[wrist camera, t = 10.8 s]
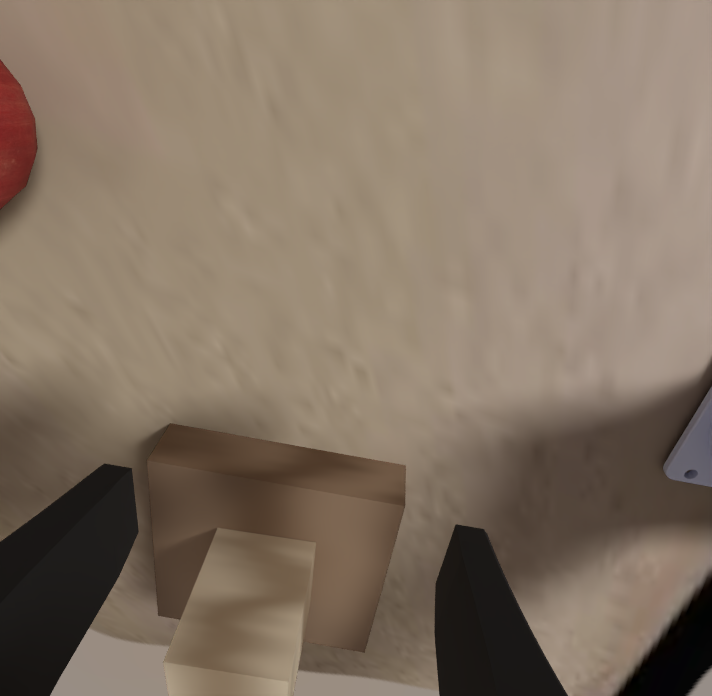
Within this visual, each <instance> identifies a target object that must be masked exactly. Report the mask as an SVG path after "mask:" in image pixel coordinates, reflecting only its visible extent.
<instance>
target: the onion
mask: <svg viewBox="0 0 712 696" xmlns="http://www.w3.org/2000/svg"><path fill="white" fill-rule="evenodd" d="M36 152H37V138H36V126H35V118H34V116H33V113H32V111H31V108H30V106H29V104H28V101H27V99H26V97H25V94H24V92H23V90H22V87H21V85H20V84H19V83H18V81H17V80H16V79H15V78H14V76H13V75H12V74H11V73H10V71H9V70H8V69H7V67H6V66H5V65H4V64H3V62H2V61H1V60H0V209H1V208H2V207H3V206H4V205H5V204H7V203H8V202H9V201H10V200H11V199H12V198H13V197H14V196H15V195H16V194H17V193H19V192H20V191H21V190H22V189H23V188H24V187H25V186H26V184H27V181H28V178H29V175H30V172H31V169H32V166H33V163H34V160H35V156H36Z"/></svg>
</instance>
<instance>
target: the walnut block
mask: <svg viewBox="0 0 712 696" xmlns="http://www.w3.org/2000/svg"><path fill="white" fill-rule="evenodd" d="M147 470H148V483H149V497H150V510H151V524H152V537H153V551H154V565H155V578H156V592H157V605H158V616H163V617H169V618H174V619H181V617H182V615H183V612H184V610H185V607H186V605H187V602H188V600H189V597H190V595H191V592H192V590H193V587H194V585H195V582H196V580H197V578H198V575H199V573H200V570H201V568H202V565H203V563H204V560H205V558H206V555H207V553H208V550H209V548H210V545H211V543H212V541H213V538H214V536H215V533H216V531H217V528H222V529H229V530H236V531H242V532H249V533H256V534H262V535H269V536H276V537H282V538H289V539H296V540H303V541H309V542H316V548H315V559H314V570H313V580H312V591H311V602H310V608H309V613H308V619H307V624H306V630H305V635H304V640H303V642H308V643H314V644H320V645H325V646H331V647H336V648H342V649H348V650H353V651H359V652H364V653H365V649H366V645H367V642H368V638H369V635H370V631H371V627H372V624H373V620H374V617H375V613H376V609H377V606H378V602H379V598H380V595H381V591H382V588H383V584H384V580H385V577H386V573H387V570H388V566H389V562H390V559H391V555H392V552H393V548H394V544H395V541H396V537H397V533H398V530H399V526H400V523H401V519H402V515H403V512H404V508H405V480H406V466H405V465H400V464H394V463H389V462H383V461H377V460H372V459H366V458H361V457H355V456H350V455H344V454H338V453H333V452H327V451H322V450H316V449H311V448H305V447H299V446H294V445H288V444H283V443H277V442H271V441H266V440H260V439H255V438H249V437H244V436H238V435H232V434H227V433H221V432H216V431H210V430H205V429H199V428H193V427H188V426H182V425H177V424H171V423H170V425H169V426H168V428H167V429H166V431H165V433H164V434H163V436H162V437H161V439H160V440H159V442H158V444H157V445H156V447H155V448H154V450H153V452H152V453H151V455H150V456H149V458H148V459H147Z"/></svg>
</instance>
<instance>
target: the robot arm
mask: <svg viewBox="0 0 712 696" xmlns="http://www.w3.org/2000/svg"><path fill="white" fill-rule="evenodd" d="M663 470H664V472H665V474H666V476H667V477H668V478H669V479H672V480H676V481H682V482H687V483H692V484H698V485H703V486H709V487H712V387H711V388H710V390H709V391H708V393H707V395H706V396H705V398H704V400H703V401H702V403H701V405H700V406H699V408H698V409H697V411H696V413H695V414H694V416H693V418H692V419H691V421H690V423H689V424H688V426H687V428H686V429H685V431H684V432H683V434H682V436H681V437H680V439H679V441H678V442H677V444H676V446H675V447H674V449H673V450H672V452H671V454H670V455H669V457H668V459H667V460H666V462H665V464H664V466H663ZM688 470H691V471H690V472H687V471H688ZM138 532H139V531H138V522H137V513H136V504H135V495H134V486H133V477H132V468H127V467H121V466H115V465H109V464H103V465H102V466H100V467H99V468H98V469H96V470H95V471H94V472H92V473H91V474H90V475H89V476H87V477H86V478H85V479H83V480H82V481H81V482H80V483H78V484H77V485H76V486H74V487H73V488H72V489H70V490H69V491H68V492H67V493H65V494H64V495H63V496H61V497H60V498H59V499H58V500H56V501H55V502H54V503H52V504H51V505H50V506H48V507H47V508H46V509H44V510H43V511H42V512H40V513H39V514H38V515H36V516H35V517H34V518H32V519H31V520H30V521H28V522H27V523H25V524H24V525H23V526H21V527H20V528H19V529H17V530H16V531H15V532H13V533H12V534H11V535H9V536H8V537H6V538H5V539H4V540H2V541H1V542H0V696H50V694H51V693H52V690H53V689H54V687H55V685H56V683H57V681H58V680H59V678H60V676H61V674H62V673H63V671H64V669H65V668H66V666H67V664H68V663H69V661H70V659H71V657H72V656H73V654H74V652H75V651H76V649H77V647H78V645H79V644H80V642H81V640H82V639H83V637H84V635H85V634H86V632H87V630H88V629H89V627H90V625H91V624H92V622H93V620H94V618H95V617H96V615H97V613H98V612H99V610H100V608H101V606H102V605H103V603H104V601H105V600H106V598H107V596H108V594H109V593H110V591H111V589H112V587H113V586H114V584H115V582H116V580H117V579H118V577H119V575H120V573H121V570H122V568H123V566H124V564H125V562H126V559H127V557H128V555H129V553H130V550H131V548H132V546H133V543H134V541H135V539H136V536H137V534H138ZM435 645H436V657H437V670H438V682H439V694H440V696H568V695H567V693H566V692H565V690H564V688H563V686H562V685H561V683H560V681H559V680H558V678H557V676H556V674H555V673H554V671H553V669H552V667H551V666H550V664H549V662H548V660H547V659H546V657H545V655H544V653H543V651H542V650H541V648H540V646H539V644H538V642H537V640H536V638H535V637H534V635H533V633H532V631H531V629H530V627H529V625H528V623H527V621H526V619H525V617H524V615H523V613H522V611H521V609H520V607H519V605H518V603H517V601H516V599H515V597H514V595H513V592H512V590H511V588H510V586H509V584H508V582H507V579H506V577H505V575H504V573H503V571H502V568H501V566H500V564H499V562H498V559H497V557H496V555H495V552H494V550H493V547H492V545H491V542H490V540H489V537H488V535H487V533H486V532H485V530H484V529H479V528H474V527H468V526H462V525H455V528H454V531H453V534H452V537H451V540H450V543H449V546H448V549H447V552H446V555H445V558H444V561H443V564H442V567H441V569H440V572H439V575H438V578H437V581H436V592H435Z"/></svg>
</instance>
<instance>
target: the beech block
mask: <svg viewBox="0 0 712 696" xmlns="http://www.w3.org/2000/svg"><path fill="white" fill-rule="evenodd" d="M315 548H316V542H309V541H303V540H296V539H289V538H282V537H276V536H269V535H262V534H256V533H249V532H242V531H236V530H229V529H222V528H217V531H216V533H215V536H214V538H213V541H212V543H211V545H210V548H209V550H208V553H207V555H206V558H205V560H204V563H203V565H202V568H201V570H200V573H199V575H198V578H197V580H196V582H195V585H194V587H193V590H192V592H191V595H190V597H189V600H188V602H187V605H186V607H185V610H184V612H183V615H182V617H181V619H180V622H179V624H178V627H177V629H176V632H175V634H174V637H173V639H172V642H171V644H170V647H169V649H168V652H167V654H166V656H165V659H164V661H163V663H164V670H165V677H166V683H167V690H168V696H293V694H294V688H295V683H296V678H297V673H298V667H299V662H300V656H301V651H302V646H303V640H304V635H305V630H306V624H307V619H308V613H309V608H310V602H311V591H312V580H313V570H314V559H315Z"/></svg>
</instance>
